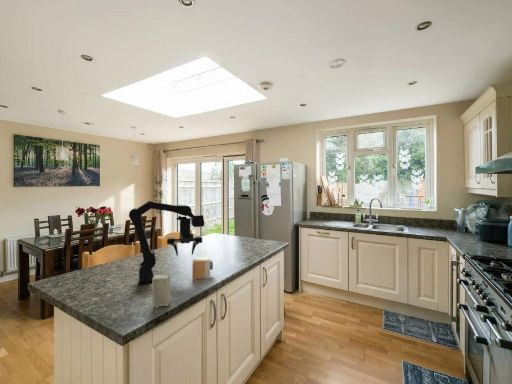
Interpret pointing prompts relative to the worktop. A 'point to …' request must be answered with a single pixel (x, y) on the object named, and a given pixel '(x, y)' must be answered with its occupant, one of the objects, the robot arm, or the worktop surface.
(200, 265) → the orange l-shaped block
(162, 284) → the skincare box
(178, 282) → the worktop surface
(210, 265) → the block
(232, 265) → the worktop surface
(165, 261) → the worktop surface
